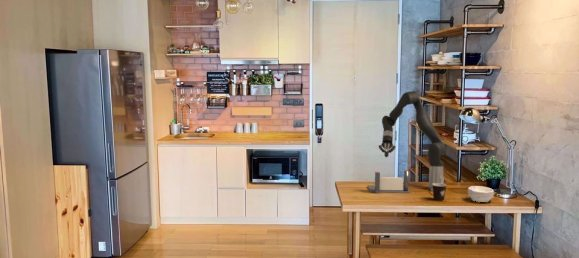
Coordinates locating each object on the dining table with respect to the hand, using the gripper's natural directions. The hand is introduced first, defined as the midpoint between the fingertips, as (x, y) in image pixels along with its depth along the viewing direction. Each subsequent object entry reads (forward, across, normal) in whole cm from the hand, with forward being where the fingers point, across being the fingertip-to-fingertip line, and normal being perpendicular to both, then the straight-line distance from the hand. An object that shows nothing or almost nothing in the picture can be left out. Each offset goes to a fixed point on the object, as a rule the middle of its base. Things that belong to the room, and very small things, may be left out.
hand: (386, 156), depth 337 cm
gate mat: (+27, +3, +1) cm, 27 cm away
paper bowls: (+37, +61, -8) cm, 72 cm away
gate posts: (+32, +5, -4) cm, 33 cm away
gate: (+31, +3, -4) cm, 31 cm away
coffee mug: (+41, +34, -12) cm, 54 cm away
